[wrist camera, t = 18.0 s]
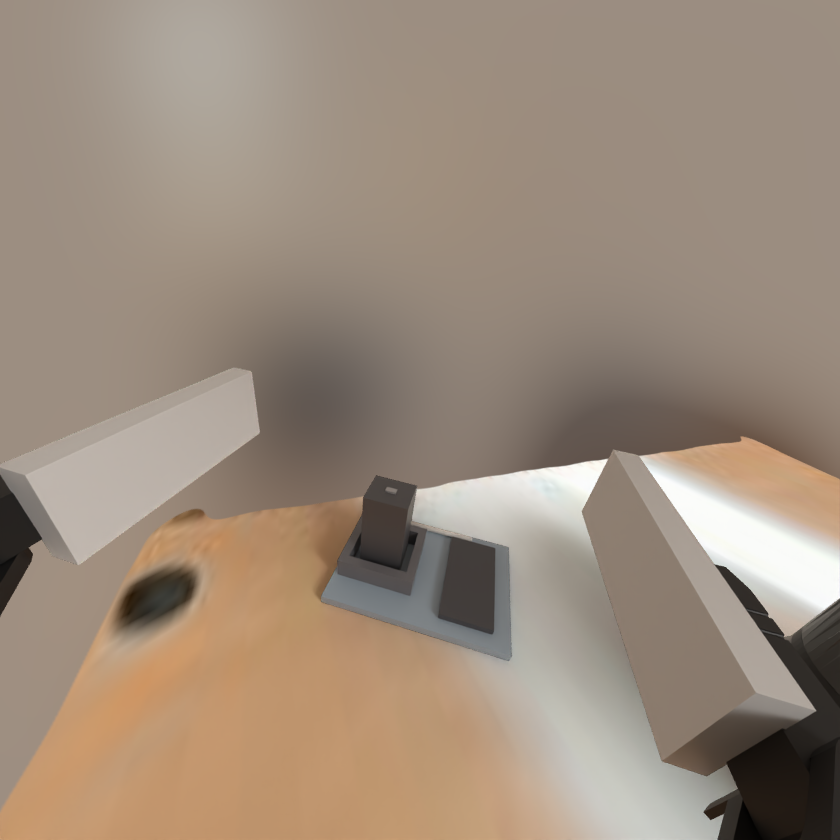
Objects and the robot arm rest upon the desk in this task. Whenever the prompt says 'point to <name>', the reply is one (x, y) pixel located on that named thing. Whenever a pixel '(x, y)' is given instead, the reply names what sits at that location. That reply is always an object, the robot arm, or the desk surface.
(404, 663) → the desk surface
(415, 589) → the charging dock
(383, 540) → the brick
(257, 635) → the desk surface
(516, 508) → the desk surface
